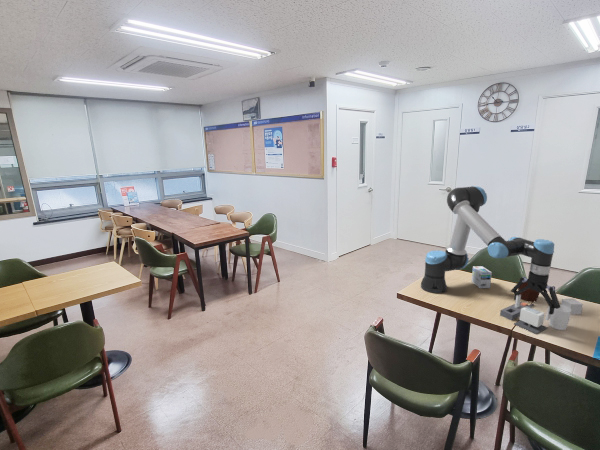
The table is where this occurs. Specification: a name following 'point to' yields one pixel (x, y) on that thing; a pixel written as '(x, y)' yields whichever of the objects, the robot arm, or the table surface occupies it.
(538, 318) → the block
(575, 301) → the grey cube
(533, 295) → the muffin
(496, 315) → the table surface
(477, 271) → the light bulb box
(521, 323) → the mat
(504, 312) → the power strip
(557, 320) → the white cup
